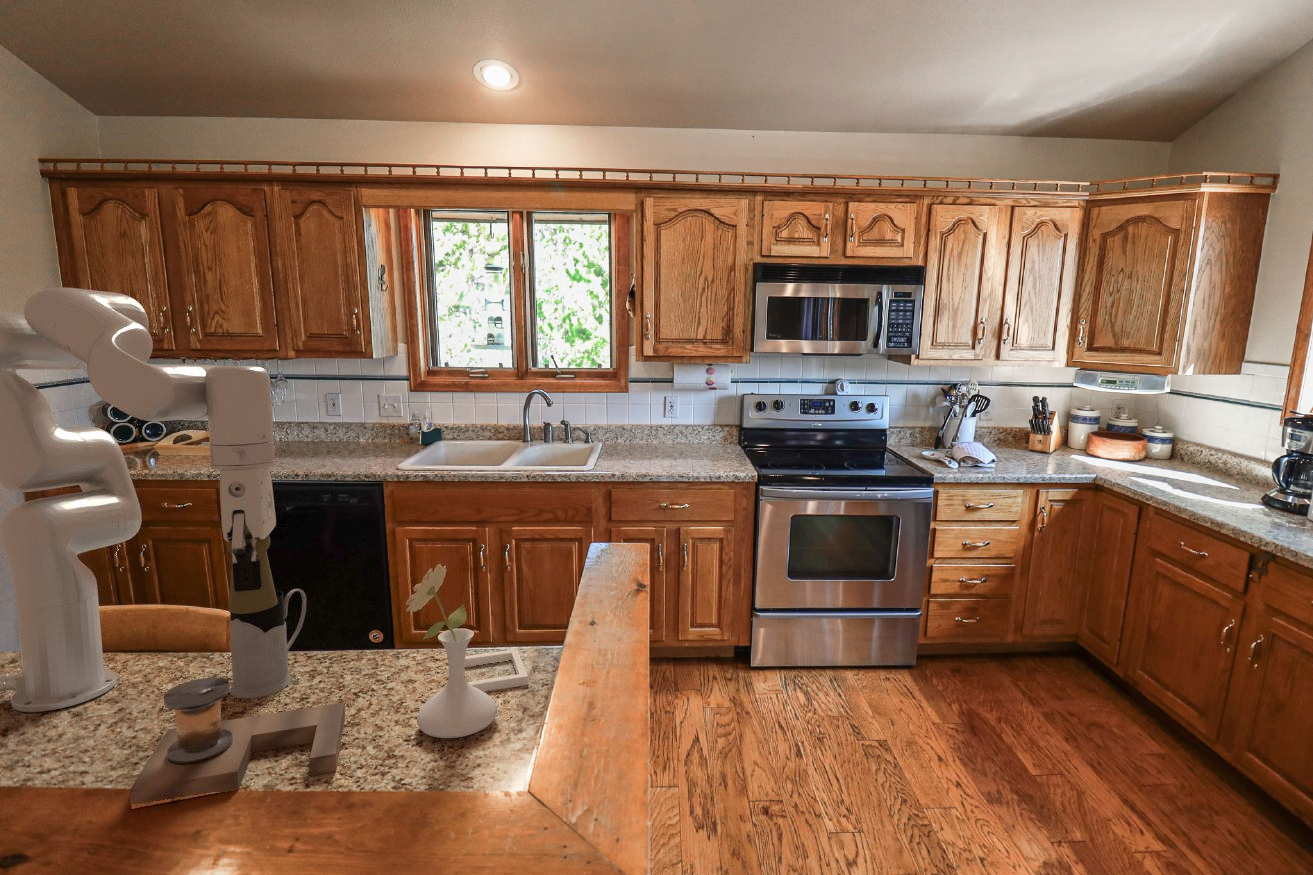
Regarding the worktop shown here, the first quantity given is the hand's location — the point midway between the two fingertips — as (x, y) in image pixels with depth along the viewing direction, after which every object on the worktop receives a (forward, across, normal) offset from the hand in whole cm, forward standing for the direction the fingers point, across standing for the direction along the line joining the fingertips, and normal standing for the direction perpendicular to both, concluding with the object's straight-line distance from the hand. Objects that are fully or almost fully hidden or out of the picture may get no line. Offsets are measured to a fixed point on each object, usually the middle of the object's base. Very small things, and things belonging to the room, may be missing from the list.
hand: (252, 583), depth 93 cm
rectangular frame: (+22, +7, -33) cm, 40 cm away
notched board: (+22, -7, 0) cm, 23 cm away
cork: (+3, 0, 0) cm, 3 cm away
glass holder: (+22, +18, +1) cm, 28 cm away
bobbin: (+19, -7, +6) cm, 21 cm away
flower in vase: (+23, -8, -26) cm, 35 cm away
